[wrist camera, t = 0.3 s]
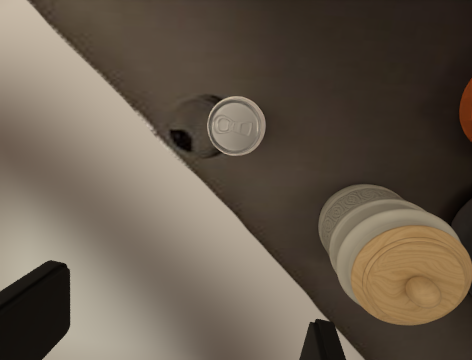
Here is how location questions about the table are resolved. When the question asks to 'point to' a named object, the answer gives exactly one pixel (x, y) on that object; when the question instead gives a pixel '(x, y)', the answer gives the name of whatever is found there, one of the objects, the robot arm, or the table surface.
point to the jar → (394, 255)
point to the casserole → (464, 229)
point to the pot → (466, 111)
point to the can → (236, 126)
